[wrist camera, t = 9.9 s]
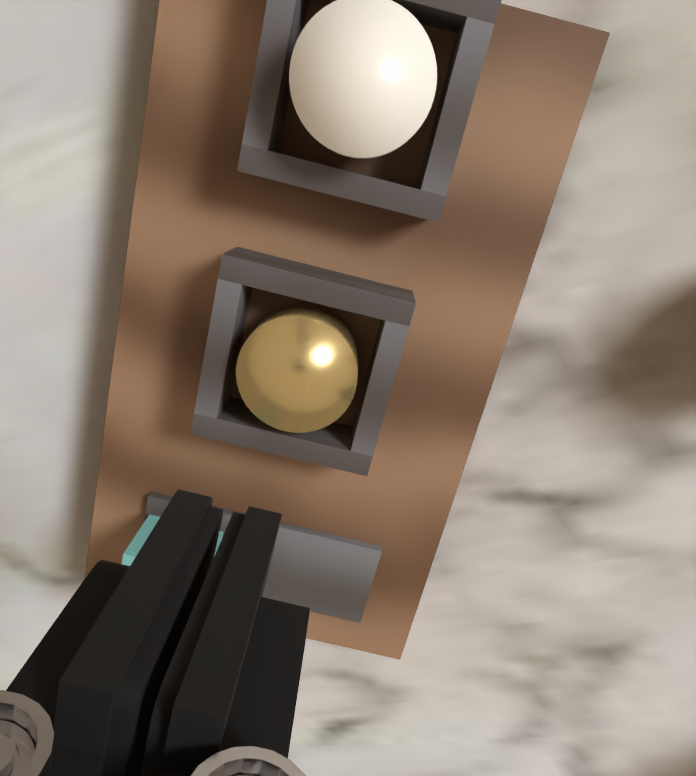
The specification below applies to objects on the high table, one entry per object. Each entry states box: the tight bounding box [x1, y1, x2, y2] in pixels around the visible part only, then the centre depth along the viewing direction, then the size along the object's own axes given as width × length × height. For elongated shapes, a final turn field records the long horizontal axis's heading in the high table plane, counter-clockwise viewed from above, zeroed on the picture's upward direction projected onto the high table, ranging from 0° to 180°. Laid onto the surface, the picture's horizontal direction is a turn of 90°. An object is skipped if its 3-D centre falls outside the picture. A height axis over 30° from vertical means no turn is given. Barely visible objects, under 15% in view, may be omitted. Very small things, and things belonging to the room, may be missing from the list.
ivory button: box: [289, 0, 437, 159], centre depth 18 cm, size 4×4×2 cm
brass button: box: [236, 304, 359, 433], centre depth 22 cm, size 4×4×2 cm
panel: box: [85, 0, 610, 659], centre depth 24 cm, size 25×14×5 cm, turn 166°
